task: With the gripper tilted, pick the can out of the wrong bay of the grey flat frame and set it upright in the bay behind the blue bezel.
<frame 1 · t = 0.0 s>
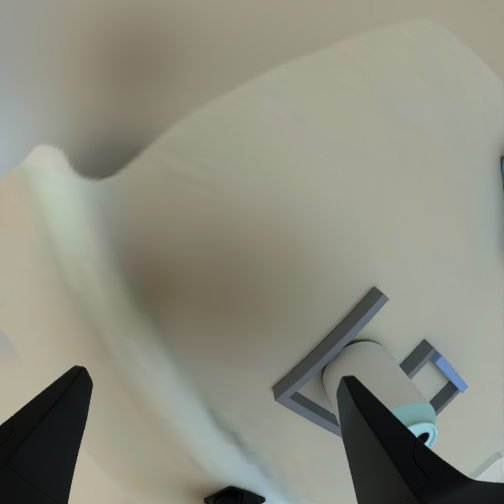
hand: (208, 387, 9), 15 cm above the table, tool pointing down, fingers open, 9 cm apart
grey flat frame: (383, 384, 27), on the table
computer: (464, 488, 38), on the table
can: (354, 367, 27), resting in grey flat frame
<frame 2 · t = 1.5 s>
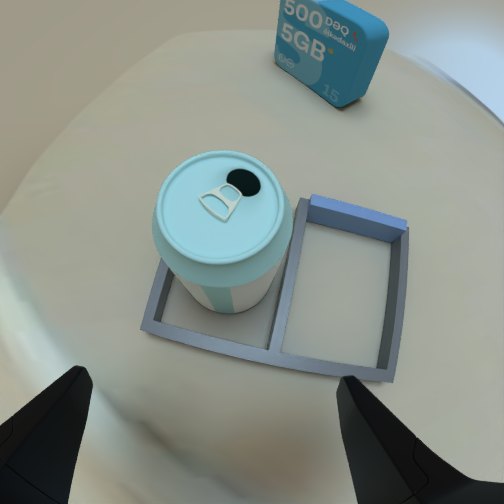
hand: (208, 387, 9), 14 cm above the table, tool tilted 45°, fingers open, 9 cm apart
grey flat frame: (287, 278, 24), on the table
data package: (316, 81, 33), on the table
can: (228, 272, 24), resting in grey flat frame
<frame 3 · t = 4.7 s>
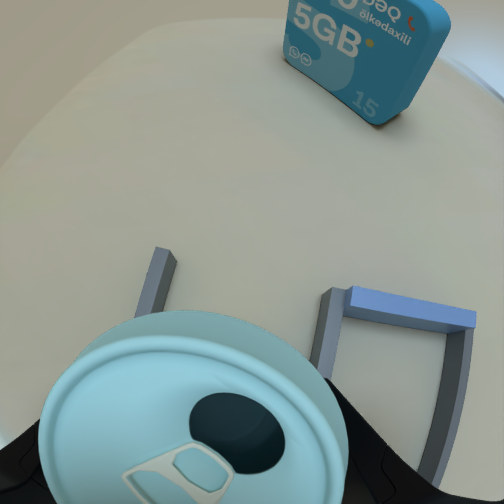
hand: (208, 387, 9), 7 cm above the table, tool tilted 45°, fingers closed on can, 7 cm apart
grey flat frame: (306, 405, 15), on the table
data package: (341, 85, 24), on the table
can: (220, 397, 15), resting in grey flat frame, touching gripper
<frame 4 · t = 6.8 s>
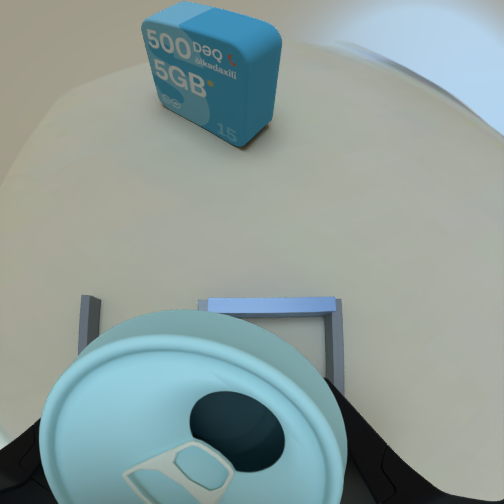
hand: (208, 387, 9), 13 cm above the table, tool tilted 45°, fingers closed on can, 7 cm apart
grey flat frame: (206, 388, 21), on the table
data package: (213, 115, 29), on the table
can: (219, 396, 15), point 6 cm above the table, touching gripper
when the fingers open (8 cm above the table, at t = 8.8 s): can drops 1 cm, resting in grey flat frame.
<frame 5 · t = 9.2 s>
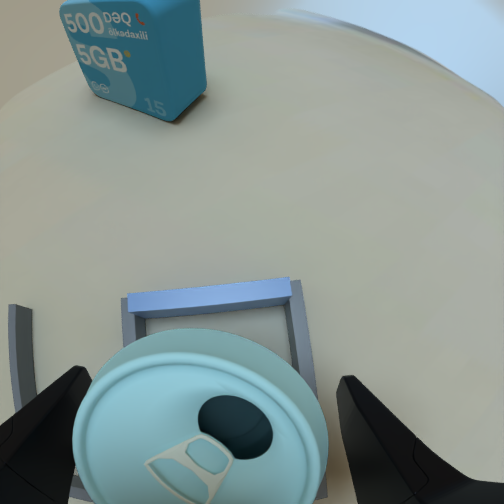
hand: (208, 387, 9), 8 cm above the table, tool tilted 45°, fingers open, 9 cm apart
grey flat frame: (147, 405, 16), on the table
data package: (145, 95, 24), on the table
can: (221, 397, 16), resting in grey flat frame
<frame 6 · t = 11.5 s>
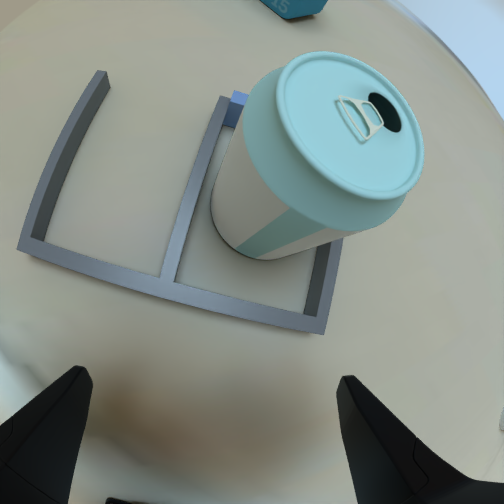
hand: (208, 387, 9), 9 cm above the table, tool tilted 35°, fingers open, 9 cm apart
grey flat frame: (194, 190, 19), on the table
can: (261, 208, 20), resting in grey flat frame
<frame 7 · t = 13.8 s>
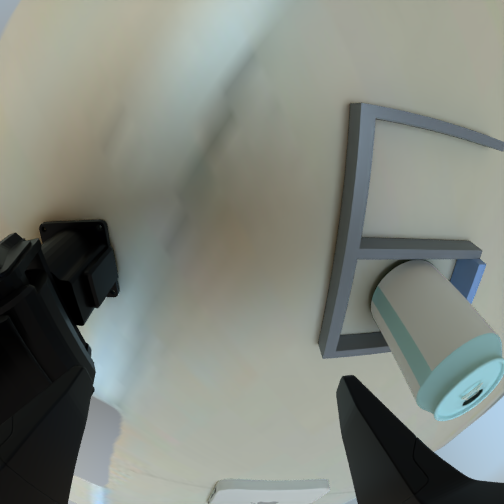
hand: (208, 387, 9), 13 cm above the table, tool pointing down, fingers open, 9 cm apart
grey flat frame: (415, 243, 21), on the table
computer: (264, 492, 47), on the table
can: (402, 290, 24), resting in grey flat frame
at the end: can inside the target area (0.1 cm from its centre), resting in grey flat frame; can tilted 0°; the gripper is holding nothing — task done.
